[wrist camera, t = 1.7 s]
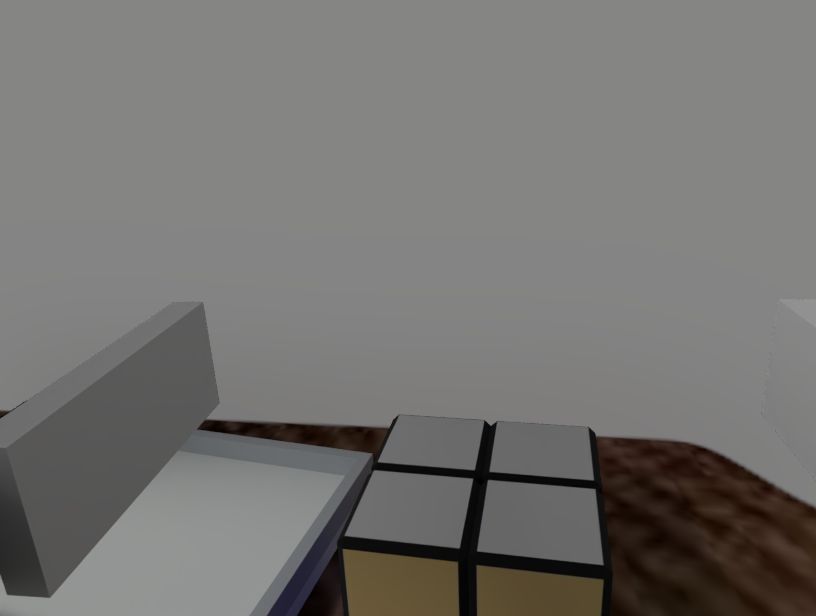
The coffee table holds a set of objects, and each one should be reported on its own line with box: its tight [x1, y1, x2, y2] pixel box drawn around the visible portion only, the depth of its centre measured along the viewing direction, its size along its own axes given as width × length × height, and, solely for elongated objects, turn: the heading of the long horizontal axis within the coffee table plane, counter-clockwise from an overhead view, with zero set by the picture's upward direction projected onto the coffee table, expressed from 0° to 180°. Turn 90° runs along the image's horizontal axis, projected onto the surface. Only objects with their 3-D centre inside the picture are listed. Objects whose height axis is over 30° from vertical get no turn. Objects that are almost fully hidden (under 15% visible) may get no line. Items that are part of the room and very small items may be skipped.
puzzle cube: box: [337, 415, 613, 616], centre depth 29 cm, size 10×10×10 cm
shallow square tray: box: [0, 430, 373, 616], centre depth 37 cm, size 19×19×2 cm
